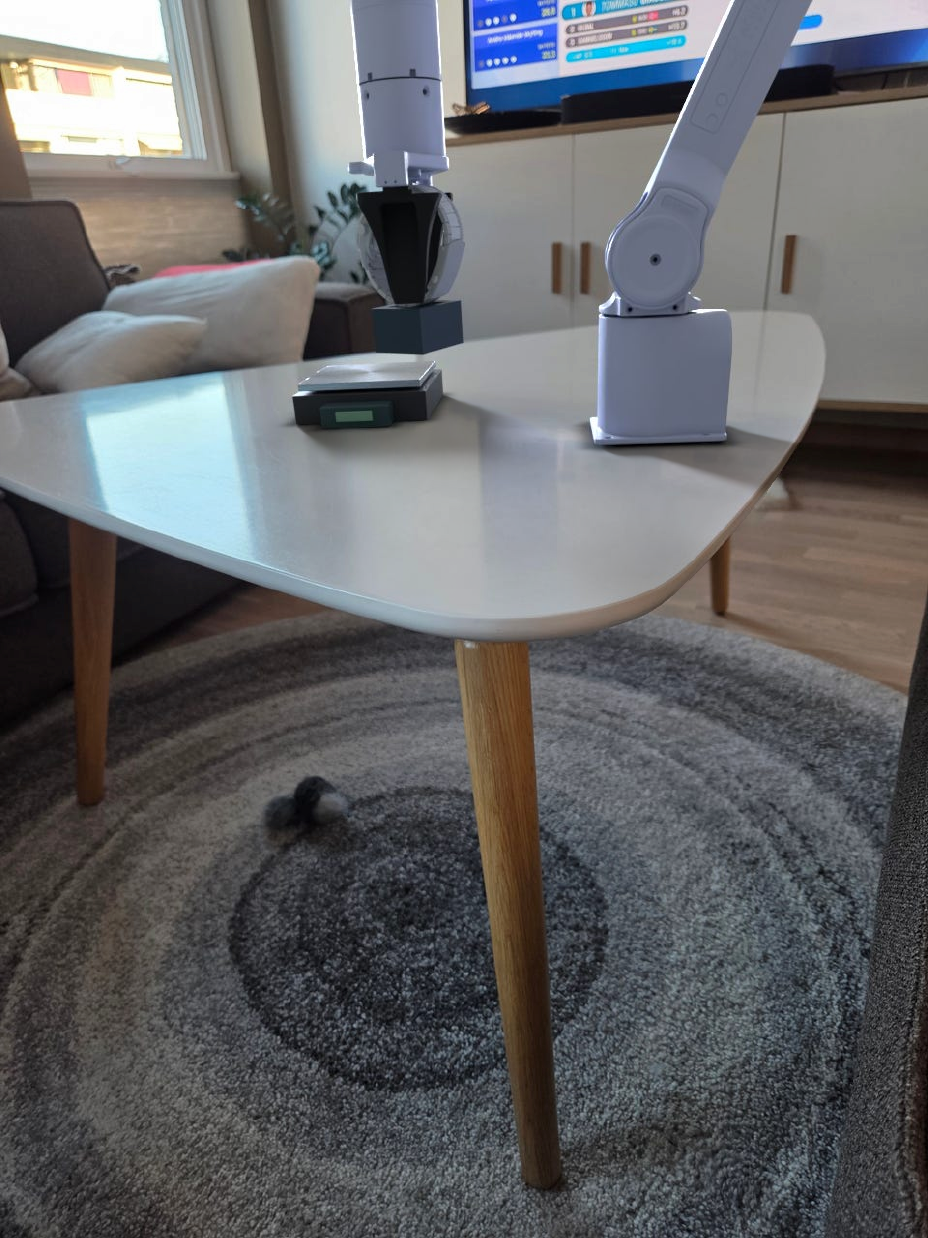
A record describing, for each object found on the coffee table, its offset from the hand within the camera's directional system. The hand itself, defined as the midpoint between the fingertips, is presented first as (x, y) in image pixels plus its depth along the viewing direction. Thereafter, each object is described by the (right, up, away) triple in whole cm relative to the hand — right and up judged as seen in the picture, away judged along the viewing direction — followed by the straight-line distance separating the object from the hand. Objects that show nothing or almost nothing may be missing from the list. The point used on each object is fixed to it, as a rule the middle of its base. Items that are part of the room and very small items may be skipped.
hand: (415, 299), depth 61 cm
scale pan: (-5, -1, +16) cm, 17 cm away
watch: (0, -3, +1) cm, 4 cm away
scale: (-5, -4, +16) cm, 17 cm away
